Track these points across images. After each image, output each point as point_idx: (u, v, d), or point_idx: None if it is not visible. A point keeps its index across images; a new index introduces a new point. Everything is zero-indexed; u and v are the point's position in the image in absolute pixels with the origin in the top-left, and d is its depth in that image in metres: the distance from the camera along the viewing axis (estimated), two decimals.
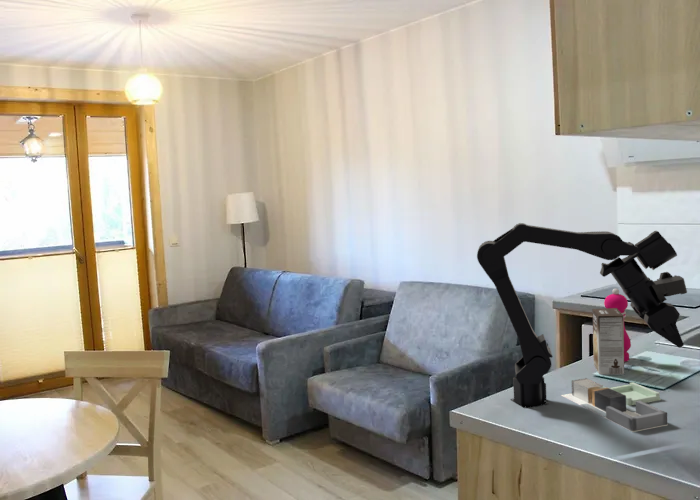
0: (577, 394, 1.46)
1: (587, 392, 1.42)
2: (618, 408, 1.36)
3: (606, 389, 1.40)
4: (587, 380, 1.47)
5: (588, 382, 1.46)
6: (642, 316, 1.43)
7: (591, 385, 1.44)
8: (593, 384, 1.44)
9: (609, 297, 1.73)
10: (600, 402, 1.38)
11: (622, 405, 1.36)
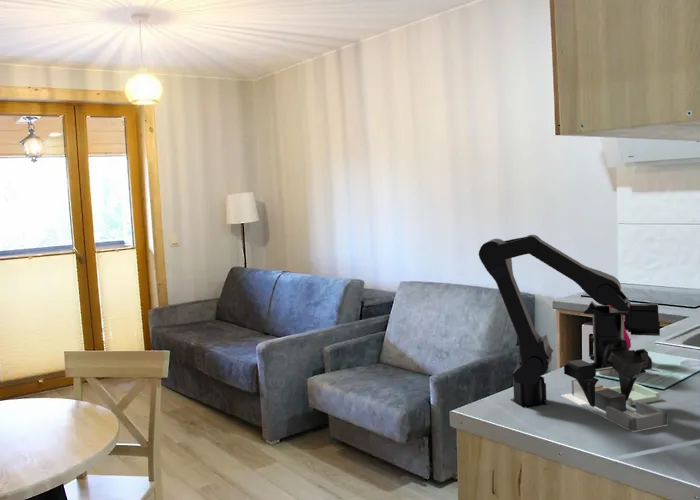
0: (577, 394, 1.46)
1: None
2: (618, 408, 1.36)
3: (606, 389, 1.40)
4: None
5: None
6: None
7: None
8: None
9: None
10: (600, 402, 1.38)
11: (622, 405, 1.36)
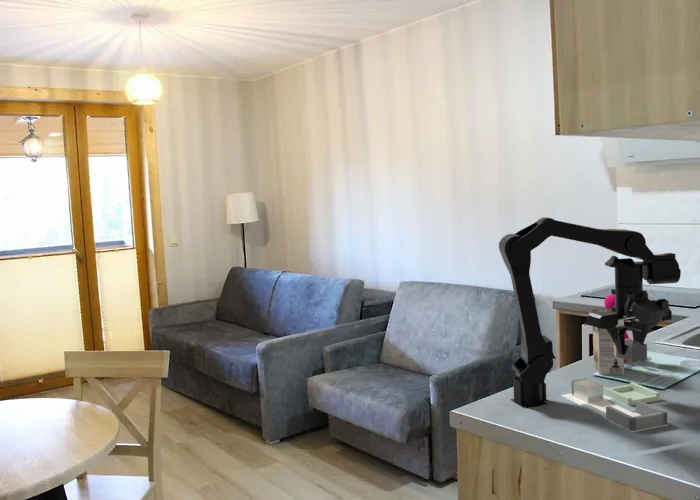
0: (577, 394, 1.46)
1: (587, 392, 1.42)
2: (639, 356, 1.41)
3: (627, 340, 1.45)
4: (587, 380, 1.47)
5: (588, 382, 1.46)
6: (631, 321, 1.46)
7: (591, 385, 1.44)
8: (593, 384, 1.44)
9: (609, 297, 1.73)
10: None
11: (643, 353, 1.41)
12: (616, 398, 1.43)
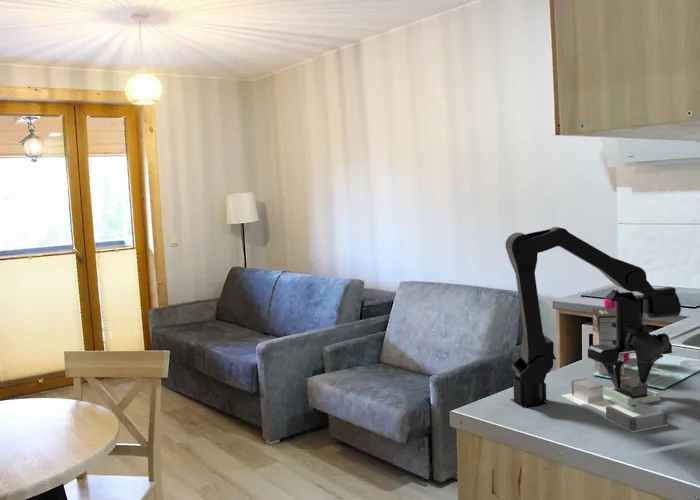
0: (577, 394, 1.46)
1: (587, 392, 1.42)
2: (640, 396, 1.42)
3: (627, 378, 1.46)
4: (587, 380, 1.47)
5: (588, 382, 1.46)
6: (636, 352, 1.47)
7: (591, 385, 1.44)
8: (593, 384, 1.44)
9: None
10: (622, 391, 1.44)
11: (644, 393, 1.42)
12: (616, 398, 1.43)
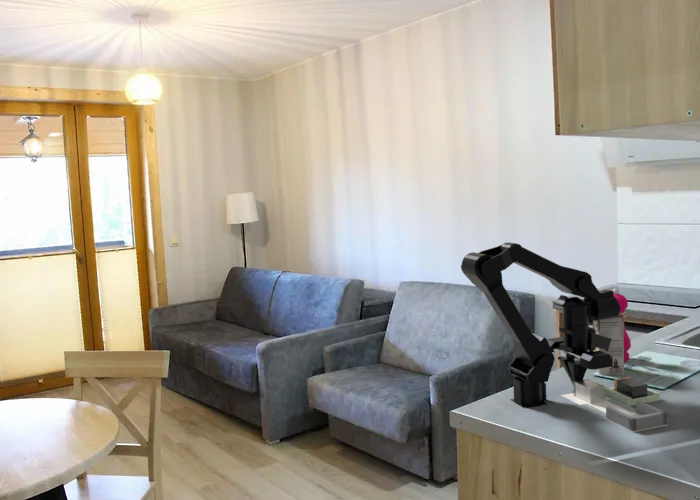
0: (579, 395, 1.45)
1: (590, 393, 1.41)
2: (640, 396, 1.42)
3: (627, 378, 1.46)
4: (589, 381, 1.46)
5: (590, 383, 1.45)
6: (565, 361, 1.48)
7: (593, 386, 1.43)
8: (595, 385, 1.43)
9: None
10: (622, 391, 1.44)
11: (644, 393, 1.42)
12: (616, 398, 1.43)
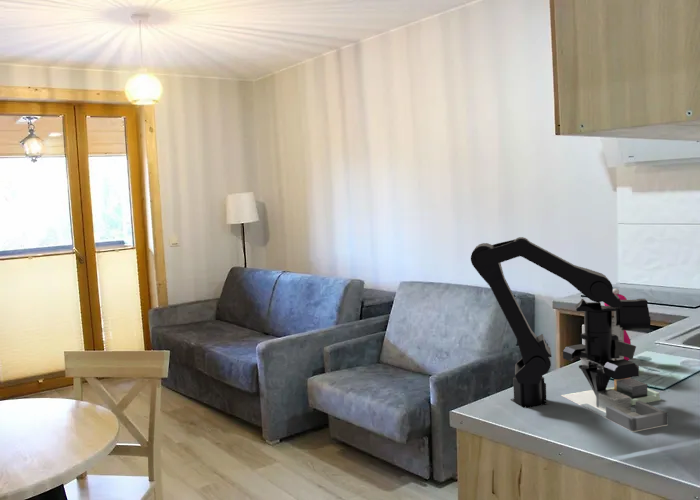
0: (602, 406, 1.38)
1: (614, 405, 1.34)
2: (640, 396, 1.42)
3: (627, 378, 1.46)
4: (613, 391, 1.39)
5: (614, 393, 1.37)
6: (587, 370, 1.41)
7: (617, 396, 1.35)
8: (620, 396, 1.35)
9: None
10: (622, 391, 1.44)
11: (644, 393, 1.42)
12: None
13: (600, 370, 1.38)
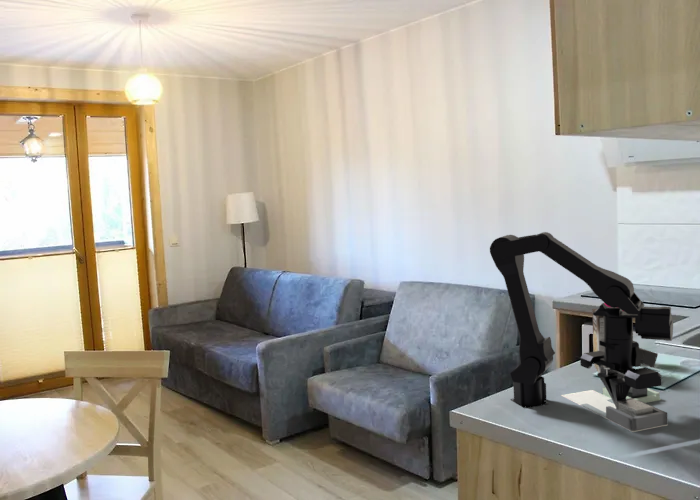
0: None
1: (636, 415, 1.27)
2: (640, 396, 1.42)
3: None
4: (633, 400, 1.32)
5: (635, 403, 1.31)
6: (606, 378, 1.34)
7: (639, 406, 1.29)
8: (641, 406, 1.29)
9: None
10: None
11: (644, 393, 1.42)
12: None
13: (620, 379, 1.32)
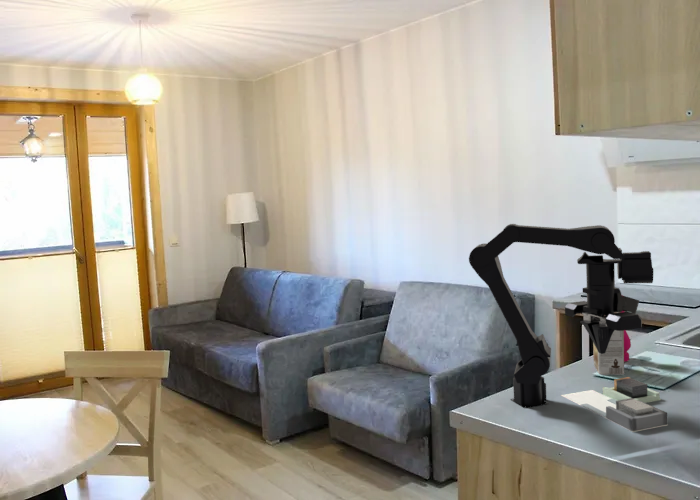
0: None
1: (636, 415, 1.27)
2: (640, 396, 1.42)
3: (627, 378, 1.46)
4: (633, 400, 1.32)
5: (635, 403, 1.31)
6: (589, 324, 1.38)
7: (639, 406, 1.29)
8: (641, 406, 1.29)
9: None
10: (622, 391, 1.44)
11: (644, 393, 1.42)
12: (616, 398, 1.43)
13: (602, 324, 1.36)
